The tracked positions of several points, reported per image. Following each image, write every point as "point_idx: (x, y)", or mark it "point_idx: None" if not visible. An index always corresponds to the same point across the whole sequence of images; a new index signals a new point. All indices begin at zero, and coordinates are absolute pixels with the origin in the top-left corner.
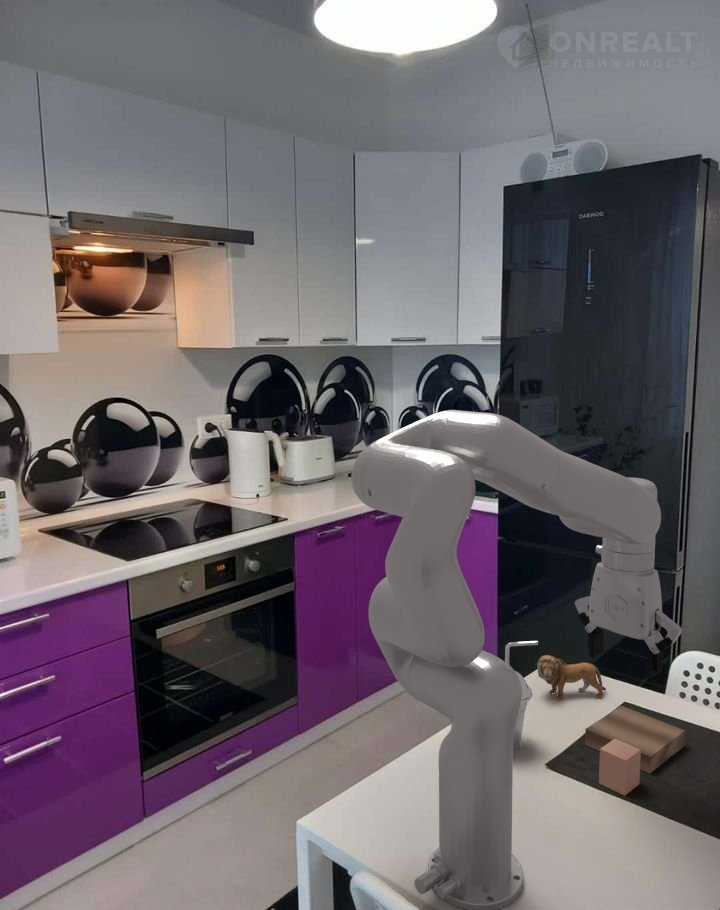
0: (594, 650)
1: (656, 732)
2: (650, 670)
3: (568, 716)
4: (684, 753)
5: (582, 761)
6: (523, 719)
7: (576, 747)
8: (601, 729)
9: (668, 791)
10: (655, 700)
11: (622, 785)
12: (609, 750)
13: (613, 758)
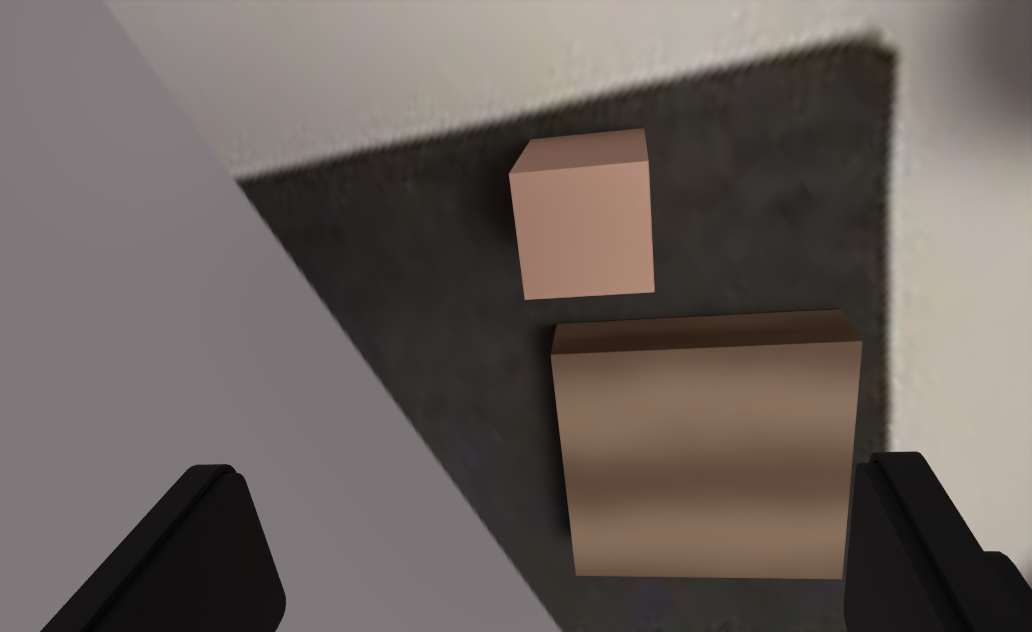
0: (883, 532)
1: (635, 505)
2: (156, 515)
3: (1014, 431)
4: (556, 500)
5: (780, 202)
6: None
7: (857, 267)
8: (804, 383)
9: (456, 282)
10: None
11: (537, 146)
12: (609, 185)
13: (573, 163)
